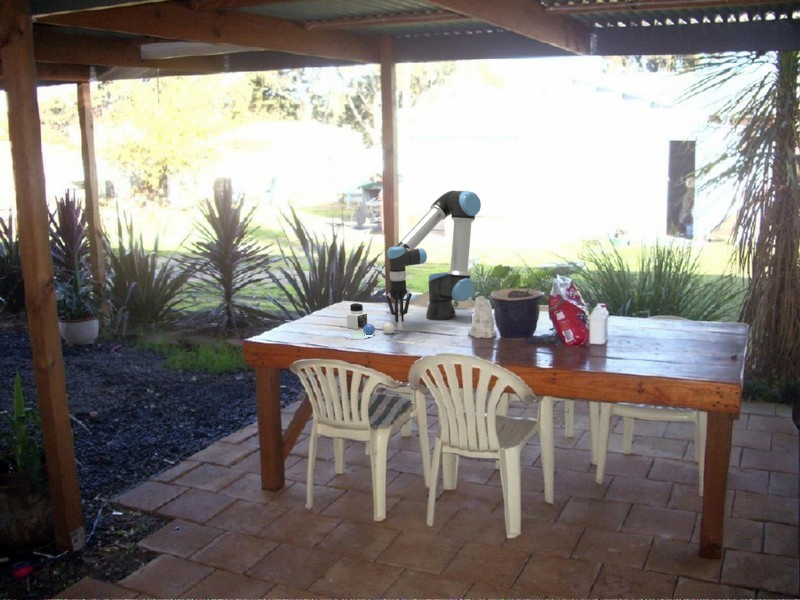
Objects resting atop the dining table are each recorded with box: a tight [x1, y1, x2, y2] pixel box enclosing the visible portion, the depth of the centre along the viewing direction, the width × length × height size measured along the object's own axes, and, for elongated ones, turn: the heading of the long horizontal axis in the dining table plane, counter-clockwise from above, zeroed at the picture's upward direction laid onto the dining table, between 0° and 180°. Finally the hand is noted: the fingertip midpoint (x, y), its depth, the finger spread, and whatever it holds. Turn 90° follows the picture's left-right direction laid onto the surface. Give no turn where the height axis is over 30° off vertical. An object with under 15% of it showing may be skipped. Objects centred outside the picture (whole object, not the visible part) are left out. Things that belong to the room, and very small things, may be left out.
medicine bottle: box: [346, 302, 368, 330], centre depth 401 cm, size 7×7×12 cm
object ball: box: [362, 323, 376, 335], centre depth 384 cm, size 6×6×6 cm
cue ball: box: [382, 321, 395, 335], centre depth 386 cm, size 6×6×6 cm
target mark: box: [349, 332, 365, 340], centre depth 384 cm, size 14×14×1 cm
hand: (399, 328), depth 388 cm, fingers closed
